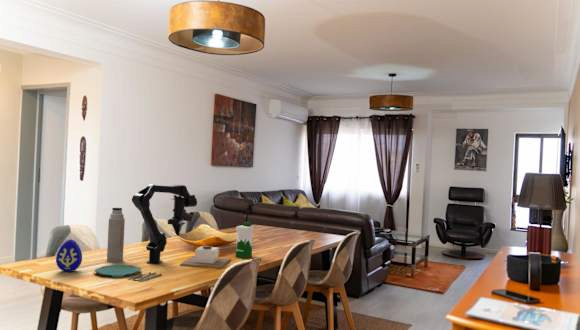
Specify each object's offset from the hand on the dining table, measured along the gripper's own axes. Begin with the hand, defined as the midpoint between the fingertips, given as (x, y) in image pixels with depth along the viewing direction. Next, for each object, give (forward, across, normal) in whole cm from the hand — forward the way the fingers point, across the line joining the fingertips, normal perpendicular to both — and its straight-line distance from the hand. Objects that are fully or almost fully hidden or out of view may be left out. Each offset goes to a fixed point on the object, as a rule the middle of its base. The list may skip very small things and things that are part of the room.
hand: (177, 235), depth 259 cm
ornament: (+13, -42, +38) cm, 58 cm away
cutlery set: (+14, -40, +10) cm, 44 cm away
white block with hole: (+13, -4, -18) cm, 23 cm away
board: (+13, -4, -18) cm, 23 cm away
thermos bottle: (+13, -14, +29) cm, 35 cm away
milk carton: (+13, +18, -34) cm, 41 cm away
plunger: (+12, -4, -18) cm, 22 cm away
